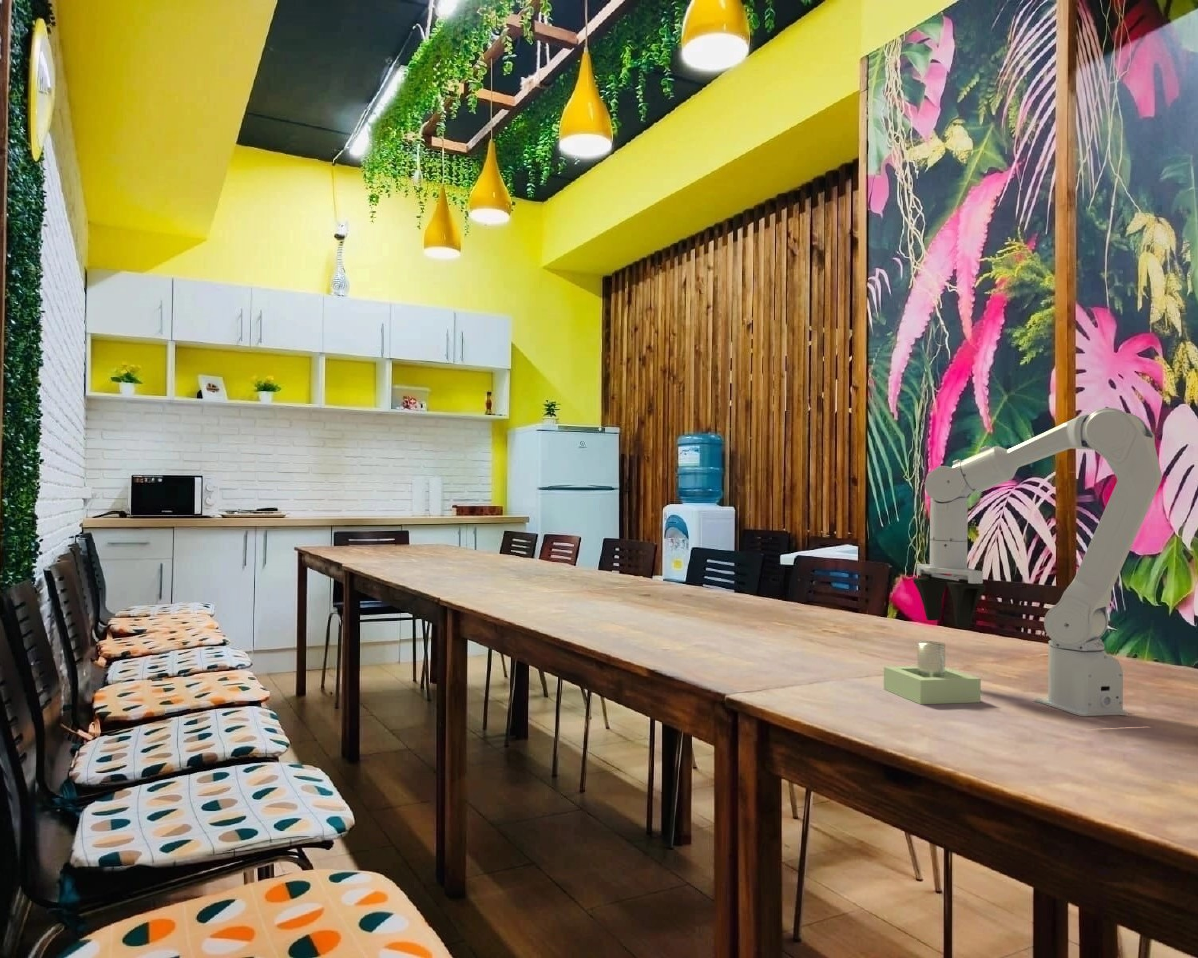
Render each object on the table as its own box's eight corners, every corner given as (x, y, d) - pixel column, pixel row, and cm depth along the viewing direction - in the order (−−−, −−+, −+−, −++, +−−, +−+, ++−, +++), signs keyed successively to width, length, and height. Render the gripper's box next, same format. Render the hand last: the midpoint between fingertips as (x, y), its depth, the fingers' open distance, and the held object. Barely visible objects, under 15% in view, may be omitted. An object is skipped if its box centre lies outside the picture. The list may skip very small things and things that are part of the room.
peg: (950, 697, 128) (951, 645, 129) (927, 698, 127) (928, 645, 128) (933, 692, 132) (934, 640, 133) (911, 692, 131) (912, 641, 132)
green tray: (980, 702, 126) (980, 678, 126) (920, 704, 124) (920, 680, 124) (939, 687, 136) (940, 665, 136) (883, 688, 134) (883, 666, 134)
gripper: (901, 538, 145) (900, 617, 144) (955, 542, 131) (954, 630, 130) (937, 538, 146) (936, 617, 146) (994, 543, 132) (993, 630, 132)
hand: (947, 623), depth 138 cm, fingers open, 7 cm apart
